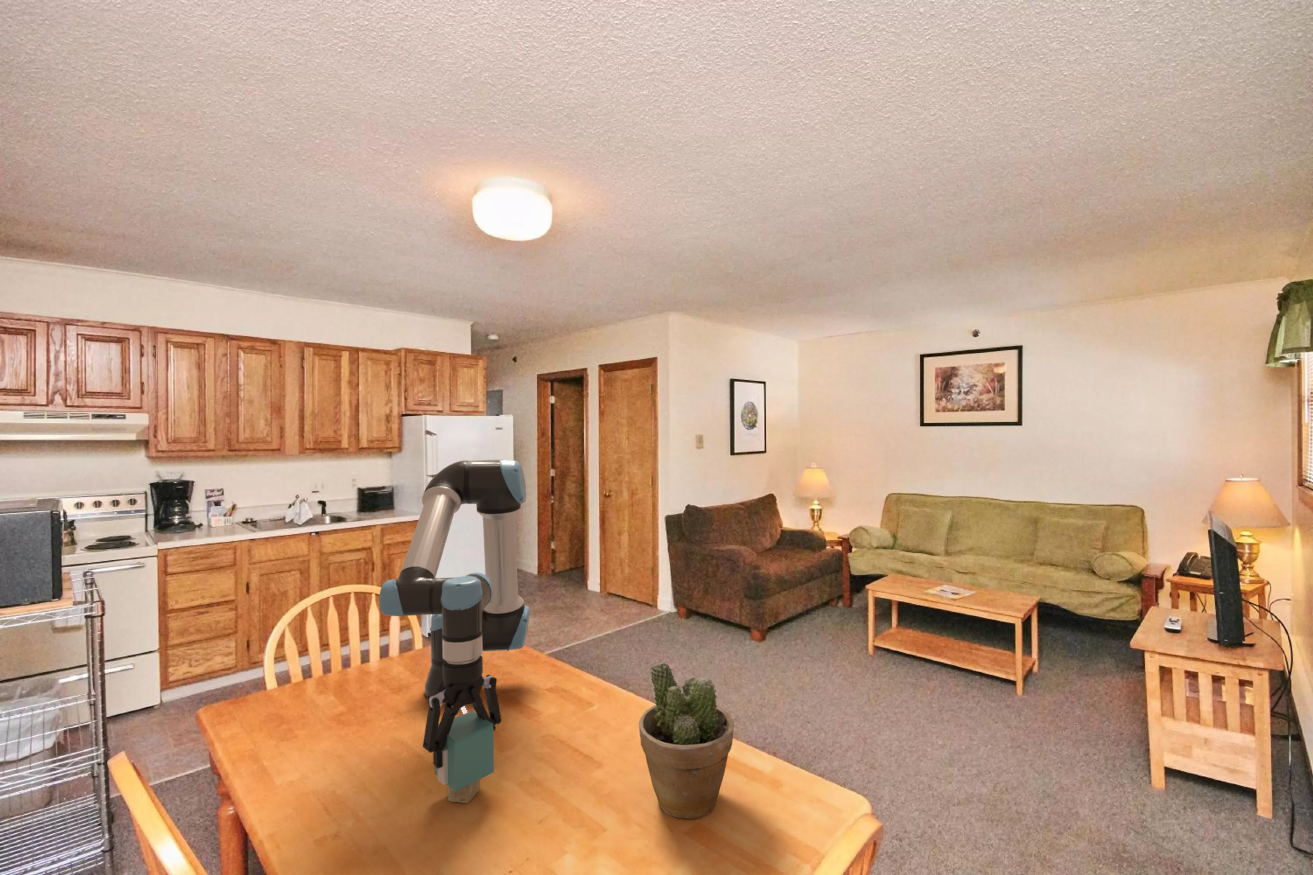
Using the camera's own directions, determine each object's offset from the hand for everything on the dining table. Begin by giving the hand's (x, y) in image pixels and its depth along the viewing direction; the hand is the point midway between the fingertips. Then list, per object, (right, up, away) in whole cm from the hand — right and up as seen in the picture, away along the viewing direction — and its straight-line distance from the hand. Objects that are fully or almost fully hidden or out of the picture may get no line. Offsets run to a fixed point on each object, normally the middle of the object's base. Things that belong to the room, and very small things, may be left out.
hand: (464, 771), depth 115 cm
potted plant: (+44, -4, -3) cm, 44 cm away
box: (0, -5, 0) cm, 5 cm away
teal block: (0, 0, 0) cm, 0 cm away
